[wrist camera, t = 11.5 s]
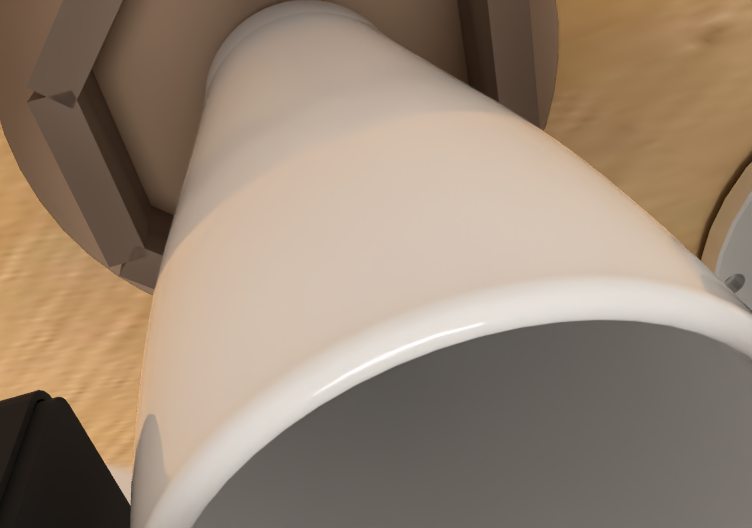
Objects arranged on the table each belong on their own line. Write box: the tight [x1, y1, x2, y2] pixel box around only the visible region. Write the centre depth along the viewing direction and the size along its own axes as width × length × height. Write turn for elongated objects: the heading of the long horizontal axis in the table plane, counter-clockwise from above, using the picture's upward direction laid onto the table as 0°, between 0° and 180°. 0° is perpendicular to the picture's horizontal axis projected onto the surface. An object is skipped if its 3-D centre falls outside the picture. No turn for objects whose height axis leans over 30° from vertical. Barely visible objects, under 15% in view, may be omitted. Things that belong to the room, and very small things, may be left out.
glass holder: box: [0, 0, 558, 295], centre depth 18 cm, size 15×15×4 cm
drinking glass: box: [130, 0, 752, 528], centre depth 13 cm, size 7×7×15 cm
